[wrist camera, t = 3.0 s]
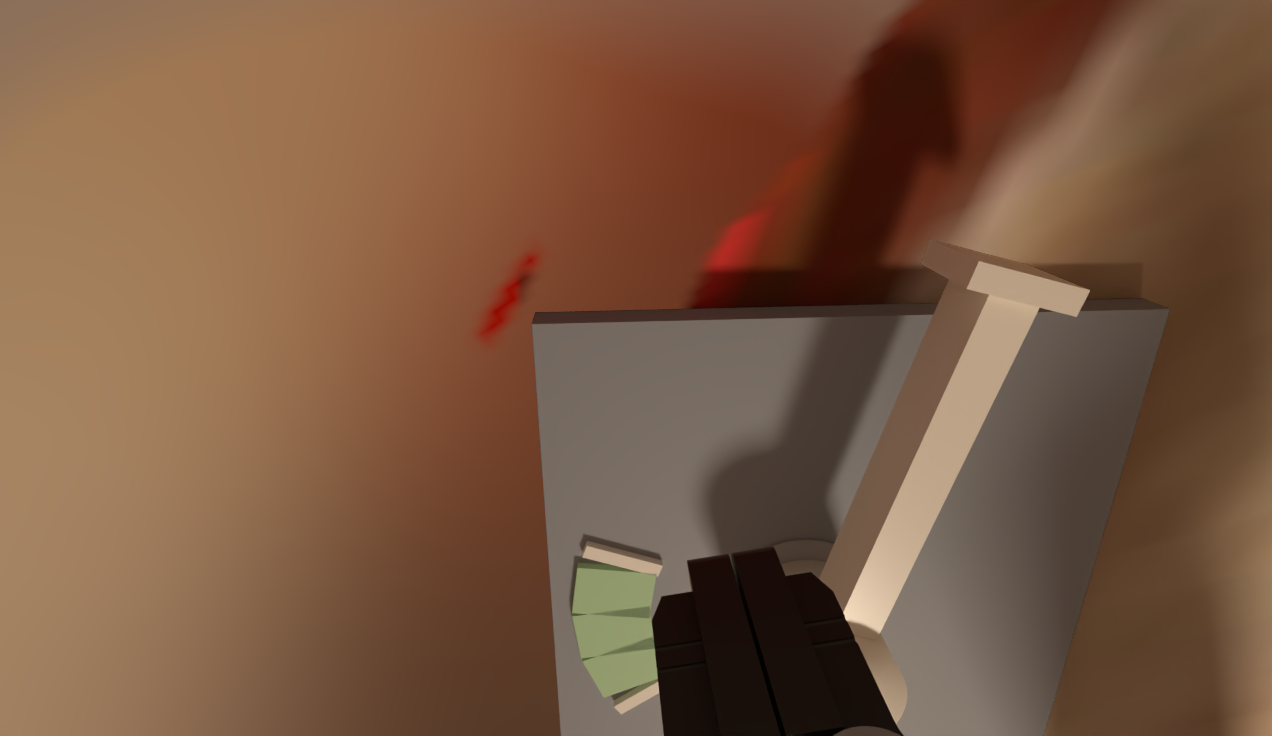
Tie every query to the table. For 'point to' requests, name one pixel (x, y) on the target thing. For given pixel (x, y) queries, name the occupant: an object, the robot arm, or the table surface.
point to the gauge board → (826, 489)
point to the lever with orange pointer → (931, 437)
